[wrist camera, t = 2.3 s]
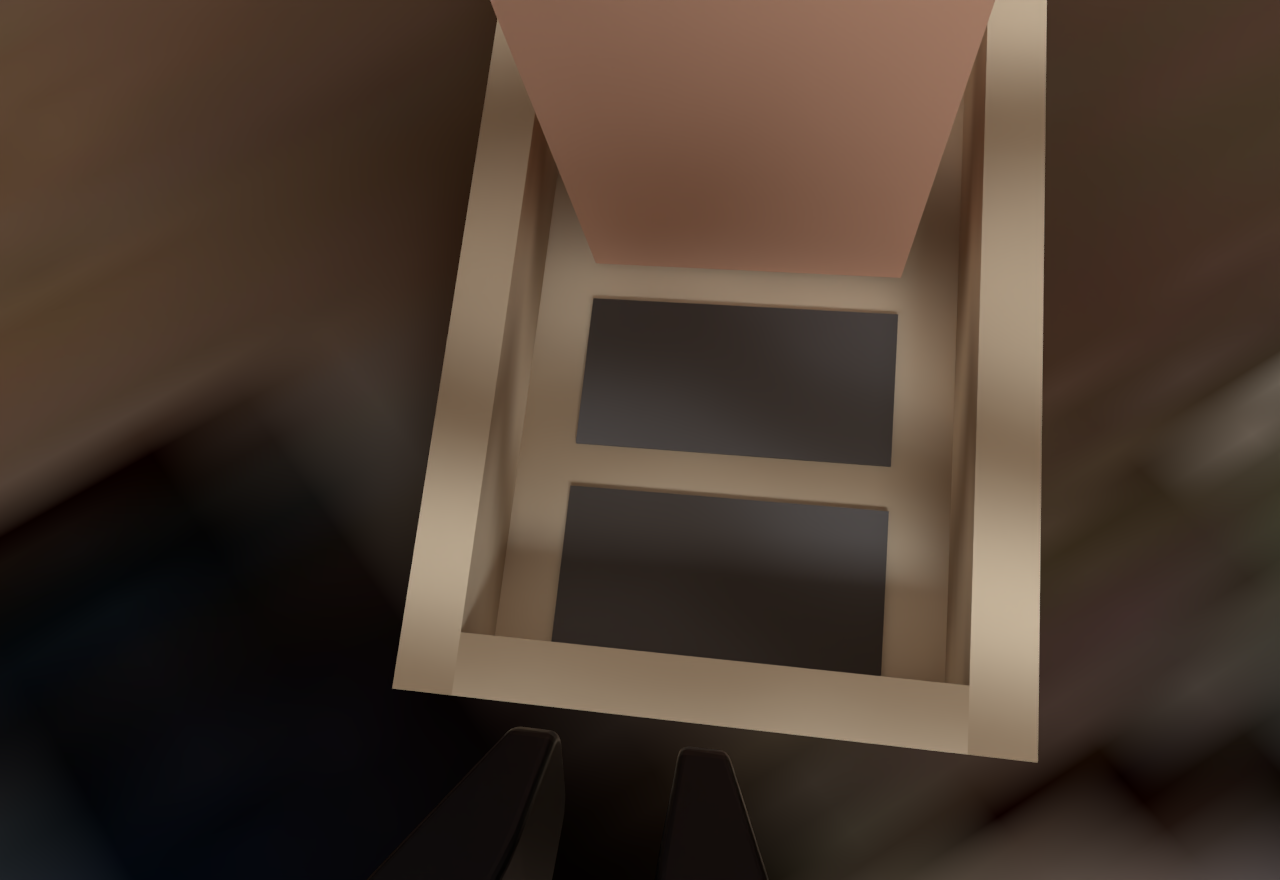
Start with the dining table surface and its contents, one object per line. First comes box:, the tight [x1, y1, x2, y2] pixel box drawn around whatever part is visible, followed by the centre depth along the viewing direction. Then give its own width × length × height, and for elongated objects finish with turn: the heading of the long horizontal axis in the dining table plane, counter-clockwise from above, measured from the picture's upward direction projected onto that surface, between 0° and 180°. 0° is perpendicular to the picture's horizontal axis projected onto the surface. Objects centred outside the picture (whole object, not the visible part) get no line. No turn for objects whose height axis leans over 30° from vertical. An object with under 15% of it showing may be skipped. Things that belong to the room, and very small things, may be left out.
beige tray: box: [392, 0, 1047, 763], centre depth 23 cm, size 24×12×4 cm, turn 174°
